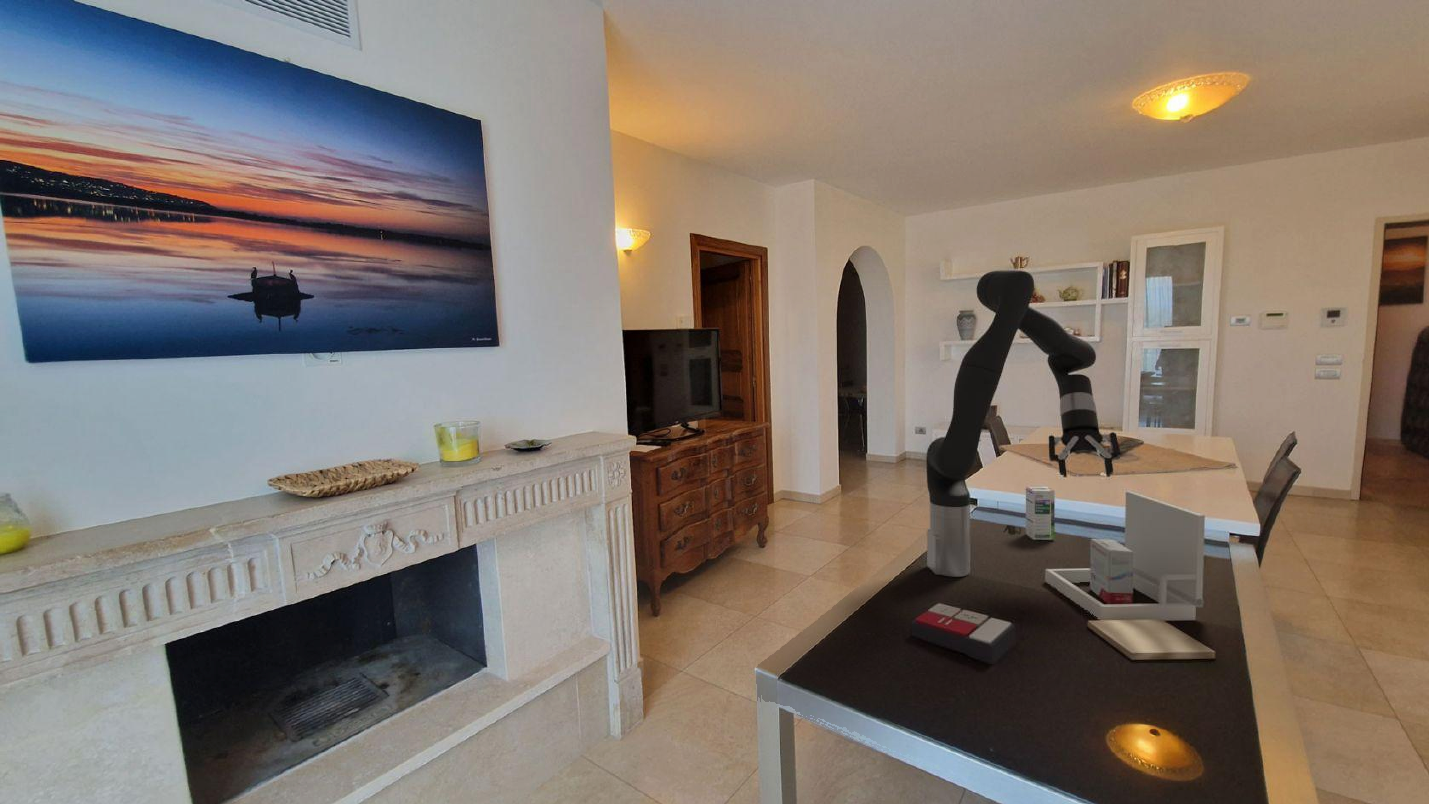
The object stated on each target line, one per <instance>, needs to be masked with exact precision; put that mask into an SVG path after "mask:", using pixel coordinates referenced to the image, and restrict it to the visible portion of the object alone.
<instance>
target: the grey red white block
mask: <svg viewBox="0 0 1429 804" xmlns="http://www.w3.org/2000/svg"><path fill="white" fill-rule="evenodd" d="M911 628H912V629H911V630H912V636H913V637H915V638H918V639H920V640H922V641H925V642H929V643H932V644H934V645H937V646H941V647H943V648H946V649H948V650H952V651H955V652H958V653H961V654H962V653H963V654H964V655H966V656H968V657H970V658H973V659H974V660H978V661H980V662H983V663H986V664H989V665H994V664H996V663H997V662H998V660H1000V659H1001V658H1002V657H1003V656H1004V655H1005V654H1006V653H1007V652H1008V651H1009V650H1010V649H1011V648H1012V647H1013V646H1014V645H1015V644H1016V627H1015V624H1014V623H1011V622H1010V621H1006V620H1002V619H998V618H993V617H989V615H986V614H982V613H979V612H975V611H971V610H967V609H963V610H962V609H961V608H960V607H959V608H958V607H956V606H951V605H947V604H944V603H940V602H939V603H937V604H935V605H933V606H932V607H931V608H929V609H928V610H927V611H924V613H922V614H920V615H919V616H918V617H916V618H915V619H914V620H913V621H912V622H911Z"/></svg>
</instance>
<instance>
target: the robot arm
mask: <svg viewBox="0 0 1429 804" xmlns="http://www.w3.org/2000/svg"><path fill="white" fill-rule="evenodd" d="M1034 290H1035V280H1034V278H1033V275H1032V273H1031V272H1029V271H1027V270H1024V269H1010V270H1009V269H1004V270H1001V269H1000V270H992V271H990V272H987V273H985V274H983V275H982V276H981V277H980V278H979V281H978V282H977V285H976V296H977V299H978V301H979V302H980V304H982V306H984V307H985V308H986V309H988V310H990V312H993V313H995V315H994V318H993V320H992V322H991V324H990V326H989V327H988V329H987V330H986V331H985V333H983V335H982V336H980V338H979V339H978V340H977V341H976V342H975V343H974V344H973V345H972V346H970V348H969V349H968V351H967V352H966V353H965V354H964V356H963V358H962V360H961V363H960V365H959V369H958V372H957V375H956V378H955V382H954V388H953V401H952V402H953V406H952V407H953V408H952V416H951V420H950V423H949V426H948V429H947V431H946V434H945V436H942V437H941V436H940V437H938V438H936V439H934V440H933V441H931V443H930V444H929V446H928V448H927V451H926V459H925V461H926V463H925V464H926V485H927V486H926V487H927V491H928V496H929V529H927V530H926V544H927V545H926V555H927V556H926V557H927V558H926V564H927V565H926V567H928V568H929V570H930V571H932V572H933V574H935V575H937V576H938V575H939V576H945V577H954V578H956V577H957V578H959V577H965V576H968V575H969V574H970V573H971V494H970V491H969V489H968V487H967V482H966V476H967V475H968V474H969V473H970V472H971V470H972V469H973V467H974V465H975V461H976V458H977V454H978V447H979V443H980V439H981V434H982V431H983V428H984V425H985V424H984V423H985V422H986V418H987V416H988V413H989V410H990V409H991V405H992V402H993V398H994V397H995V394H996V391H997V389H998V385H999V383H1000V380H1001V378H1002V374H1003V370H1004V367H1005V363H1006V360H1007V358H1008V355H1009V353H1010V350H1011V346H1012V344H1013V341H1014V339H1015V336H1016V334H1017V332H1018V330H1019V331H1020V332H1021V333H1022V334H1023V335H1025V336H1026V337H1027V338H1028V339H1029V340H1031V342H1032V343H1033V344H1035V345H1036V347H1037V348H1038V349H1040V350H1041V351H1042V352H1043V354H1045V355H1048V356H1047V364H1048V366H1049V369H1050V371H1051V372H1052V374H1053V376H1054V378H1055V381H1056V383H1057V386H1058V394H1059V411H1060V414H1059V415H1060V421H1061V431H1062V436H1054V435H1049V436H1048V457H1049V461H1051V462H1056V463H1058V470H1059V471H1058V472H1059V474H1060V476H1063V478H1068V476H1067V467H1066V460H1067V459H1068V458H1070V456H1071V455H1072V454H1073V453H1074V454H1076V455H1081V454H1089V455H1090V454H1092V453H1094V454H1096V455H1097V456H1098V457H1099V458H1101V459H1102V460H1103V461H1104V470H1105V471H1104V472H1105V476H1106V478H1109V477H1111V475H1113V473H1114V468H1113V461H1115V460H1120V459H1121V454H1122V453H1121V448H1120V445H1119V441H1118V436H1117V433H1115V432H1110V433H1109V434H1102V433H1101V432H1100V426H1099V419H1098V413H1097V407H1096V406H1097V405H1096V402H1095V399H1094V396H1093V388H1092V387H1093V386H1092V382H1091V379H1090V377H1089V376H1087V375H1085V374H1080V373H1075V372H1079V371H1081V370H1084V369H1085V370H1086V369H1088V368H1090V367H1092V366H1094V364H1095V363H1096V360H1097V354H1096V351H1095V349H1094V347H1093V346H1092V345H1091V344H1090V343H1088V342H1087V341H1086V340H1083V339H1082V338H1080V337H1078V336H1075V335H1074V334H1071V333H1070V332H1067V331H1066V330H1065V328H1063V326H1061V324H1060V323H1059V322H1057V321H1056V320H1055V319H1054V318H1053V317H1052V316H1050V315H1048V314H1047V313H1044V312H1042V311H1041V310H1039V309H1037V308H1034V307H1033V306H1031V305H1030V303H1031V301H1032V298H1033V295H1034ZM1071 373H1075V374H1071ZM1103 441H1105V442H1106V443H1107V444H1108V445H1109V444H1110V447H1111V451H1112V452H1110V453H1109V451H1107V450H1106V449H1105V448H1104V447H1103V446H1102V445H1101V444H1102V442H1103ZM1060 443H1062V445H1064V446H1065V447H1064V448H1063V449H1062V451H1061V452H1060V454H1056V447H1057V446H1059V444H1060Z"/></svg>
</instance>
